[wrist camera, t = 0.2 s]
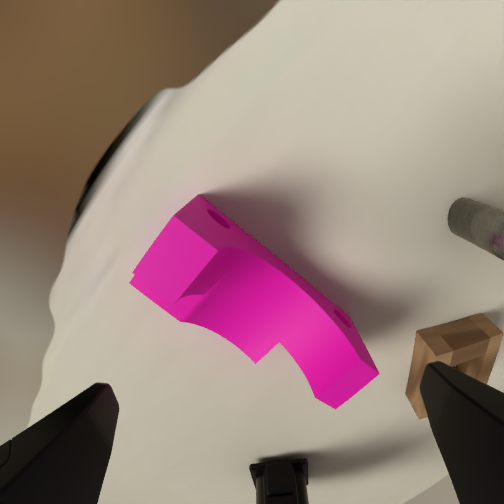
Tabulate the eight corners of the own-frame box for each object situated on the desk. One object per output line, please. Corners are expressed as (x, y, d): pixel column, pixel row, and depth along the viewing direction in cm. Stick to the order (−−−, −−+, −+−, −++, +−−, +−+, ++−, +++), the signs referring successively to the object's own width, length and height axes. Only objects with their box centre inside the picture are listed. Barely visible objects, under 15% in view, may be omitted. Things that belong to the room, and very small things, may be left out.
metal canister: (474, 233, 22) (554, 276, 12) (447, 237, 22) (528, 285, 13) (475, 196, 21) (561, 227, 12) (447, 199, 21) (536, 232, 12)
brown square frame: (465, 373, 27) (482, 395, 23) (405, 393, 27) (419, 419, 23) (481, 313, 24) (503, 332, 21) (416, 331, 25) (436, 356, 21)
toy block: (149, 259, 23) (110, 304, 16) (199, 193, 21) (173, 215, 14) (296, 364, 26) (308, 429, 19) (349, 315, 24) (379, 373, 17)
